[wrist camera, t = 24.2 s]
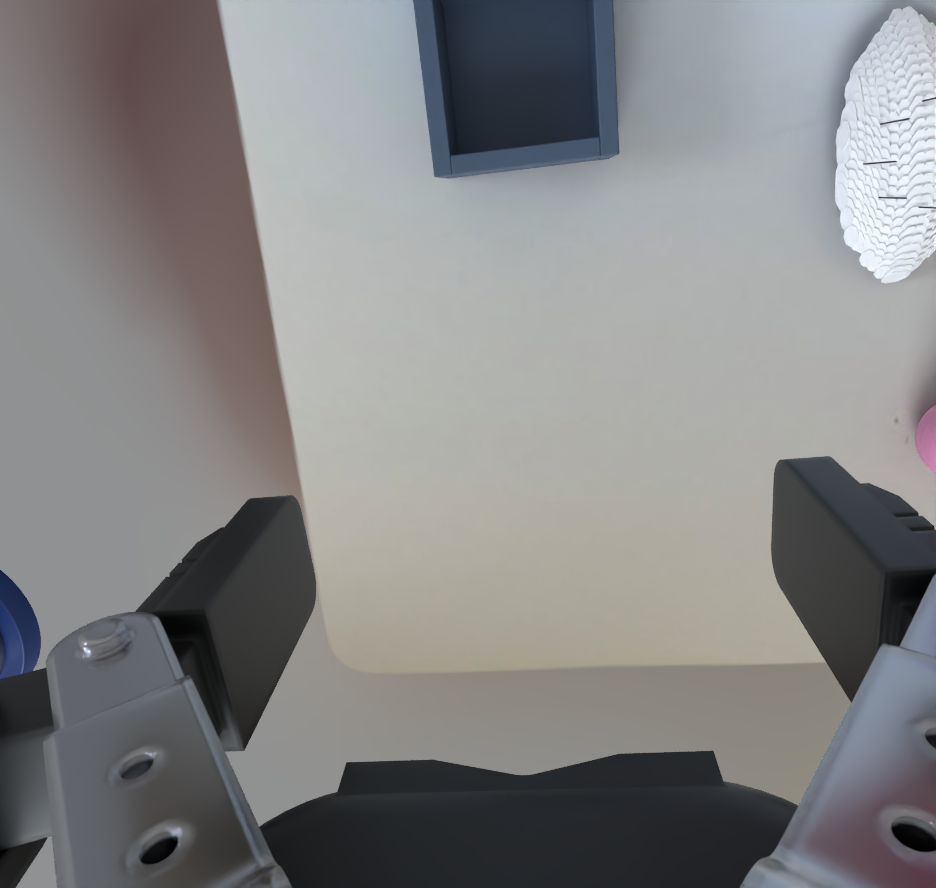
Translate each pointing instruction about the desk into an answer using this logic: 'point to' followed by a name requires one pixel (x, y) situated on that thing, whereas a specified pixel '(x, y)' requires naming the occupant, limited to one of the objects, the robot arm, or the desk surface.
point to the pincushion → (890, 149)
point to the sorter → (517, 83)
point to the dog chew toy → (927, 438)
